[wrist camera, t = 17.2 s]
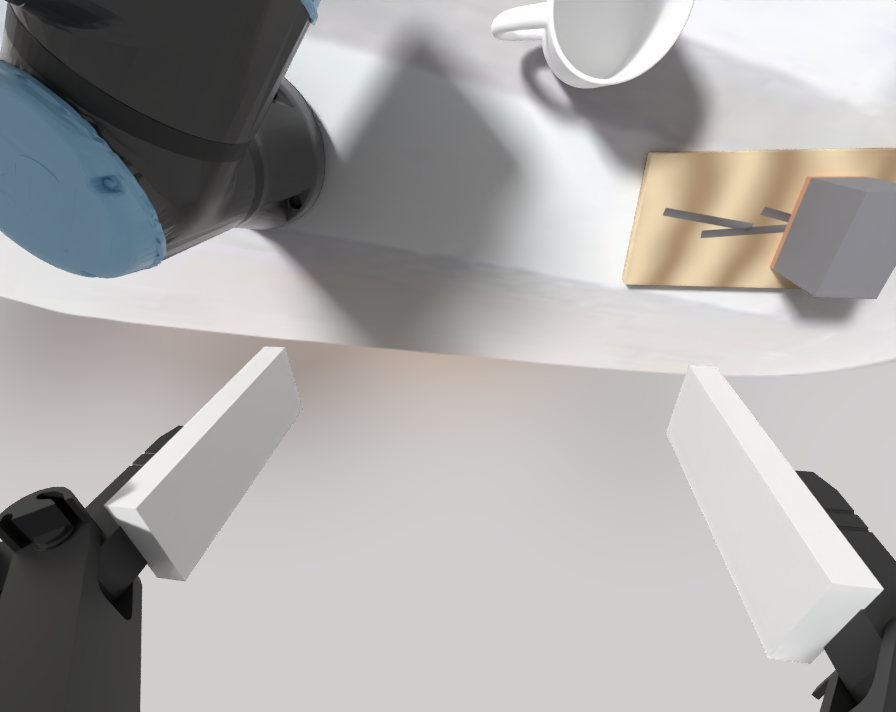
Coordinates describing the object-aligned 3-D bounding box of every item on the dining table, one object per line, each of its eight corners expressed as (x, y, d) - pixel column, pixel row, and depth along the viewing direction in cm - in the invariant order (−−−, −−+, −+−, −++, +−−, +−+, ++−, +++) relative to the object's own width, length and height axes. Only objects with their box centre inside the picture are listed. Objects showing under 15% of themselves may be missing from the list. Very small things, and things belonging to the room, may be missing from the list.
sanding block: (769, 267, 39) (815, 297, 33) (806, 176, 34) (866, 192, 29) (820, 268, 38) (876, 298, 32) (865, 176, 34) (938, 192, 28)
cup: (639, 83, 34) (681, 78, 25) (495, 97, 36) (489, 96, 27) (658, -53, 30) (716, -115, 21) (493, -29, 32) (485, -77, 23)
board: (621, 279, 43) (625, 284, 41) (648, 152, 36) (652, 154, 35) (833, 283, 40) (844, 289, 39) (902, 147, 34) (917, 149, 32)
